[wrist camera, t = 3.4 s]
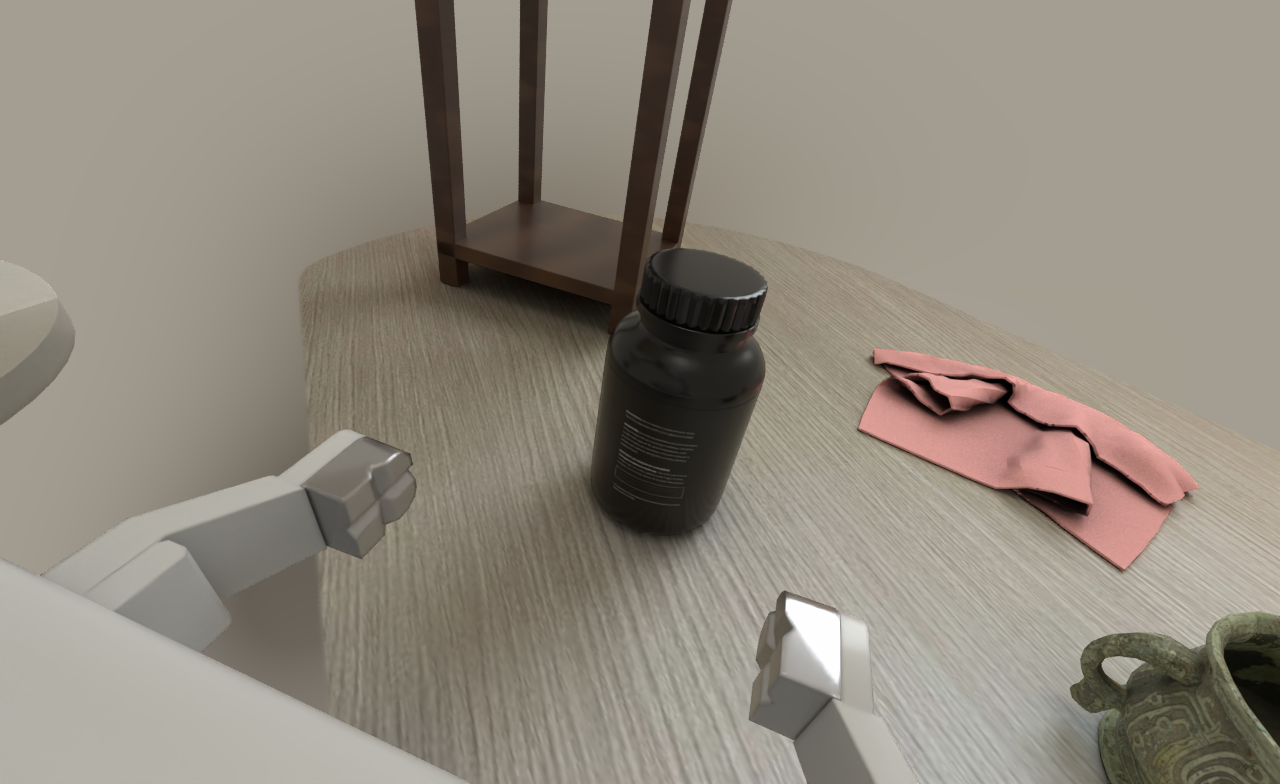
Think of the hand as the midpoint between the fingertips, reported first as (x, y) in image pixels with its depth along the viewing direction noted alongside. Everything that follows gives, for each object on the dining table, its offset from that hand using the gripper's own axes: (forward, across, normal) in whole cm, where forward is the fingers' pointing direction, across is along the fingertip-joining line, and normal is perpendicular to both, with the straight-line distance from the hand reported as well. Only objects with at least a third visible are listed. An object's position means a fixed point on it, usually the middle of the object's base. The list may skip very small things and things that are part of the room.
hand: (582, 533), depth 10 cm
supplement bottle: (+12, 0, +11) cm, 16 cm away
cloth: (+28, -21, +11) cm, 37 cm away
